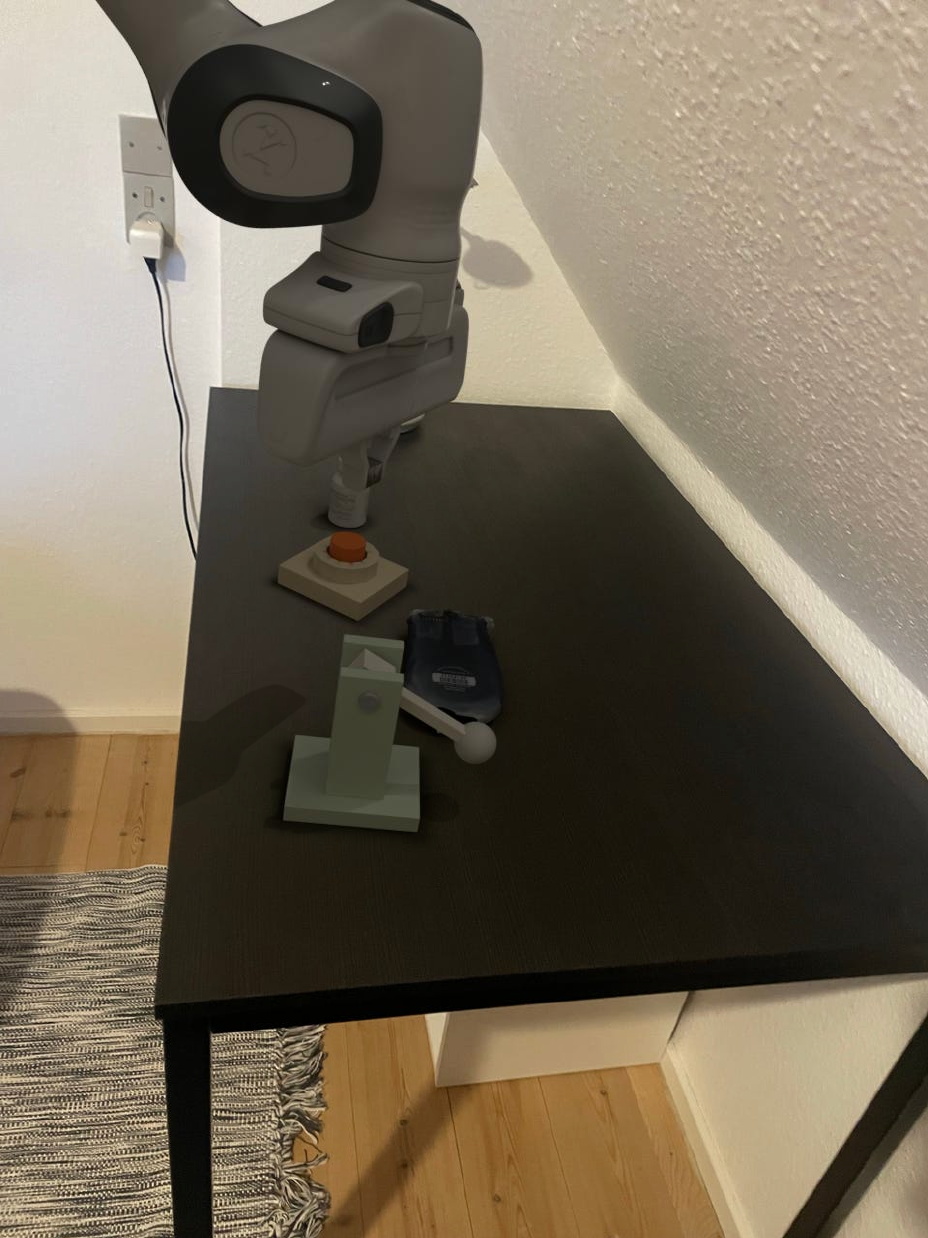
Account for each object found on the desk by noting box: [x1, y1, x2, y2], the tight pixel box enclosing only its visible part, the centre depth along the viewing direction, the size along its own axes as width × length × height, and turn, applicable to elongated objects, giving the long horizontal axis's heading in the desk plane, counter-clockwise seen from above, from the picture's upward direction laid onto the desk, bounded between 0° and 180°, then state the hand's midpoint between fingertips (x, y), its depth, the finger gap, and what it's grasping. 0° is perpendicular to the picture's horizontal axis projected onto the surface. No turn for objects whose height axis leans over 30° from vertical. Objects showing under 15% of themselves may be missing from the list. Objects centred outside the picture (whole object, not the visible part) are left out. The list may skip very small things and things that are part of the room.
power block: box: [277, 534, 410, 622], centre depth 97 cm, size 10×9×4 cm
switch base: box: [282, 633, 421, 833], centre depth 70 cm, size 10×8×13 cm
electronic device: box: [403, 608, 505, 734], centre depth 86 cm, size 9×6×15 cm
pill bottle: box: [327, 456, 371, 529], centre depth 108 cm, size 4×4×8 cm
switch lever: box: [347, 649, 497, 765], centre depth 70 cm, size 13×3×3 cm
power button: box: [329, 531, 367, 563], centre depth 96 cm, size 4×4×2 cm
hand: (362, 484), depth 68 cm, fingers closed
